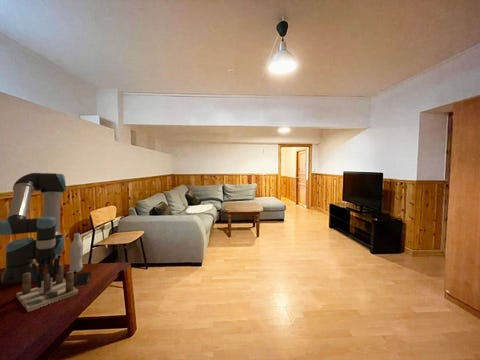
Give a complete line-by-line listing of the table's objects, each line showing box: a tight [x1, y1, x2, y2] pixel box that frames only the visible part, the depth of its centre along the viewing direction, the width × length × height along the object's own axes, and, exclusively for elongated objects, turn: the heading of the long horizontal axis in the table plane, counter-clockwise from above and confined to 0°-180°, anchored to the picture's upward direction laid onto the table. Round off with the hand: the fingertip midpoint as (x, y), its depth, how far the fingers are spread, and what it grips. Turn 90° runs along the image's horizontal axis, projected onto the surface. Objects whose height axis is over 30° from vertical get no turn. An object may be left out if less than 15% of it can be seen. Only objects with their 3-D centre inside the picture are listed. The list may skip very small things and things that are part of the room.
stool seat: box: [16, 263, 79, 313], centre depth 116 cm, size 20×20×12 cm
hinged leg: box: [42, 272, 58, 298], centre depth 114 cm, size 4×10×10 cm, turn 67°
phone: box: [73, 272, 92, 287], centre depth 135 cm, size 8×1×15 cm
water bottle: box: [68, 232, 84, 273], centre depth 144 cm, size 7×7×25 cm
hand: (45, 290), depth 115 cm, fingers open, 3 cm apart
